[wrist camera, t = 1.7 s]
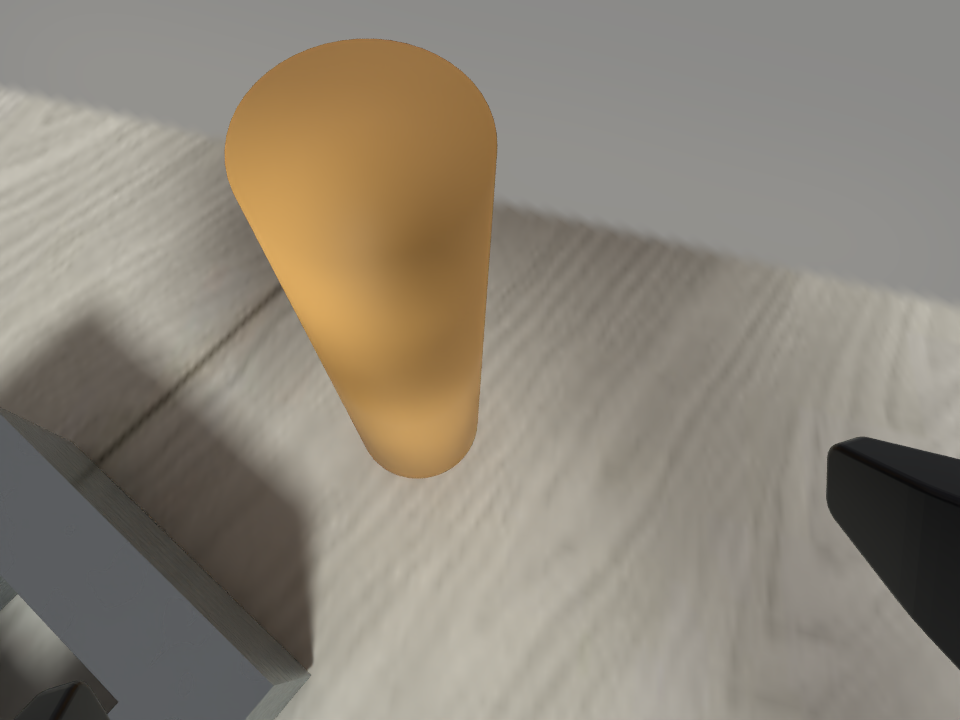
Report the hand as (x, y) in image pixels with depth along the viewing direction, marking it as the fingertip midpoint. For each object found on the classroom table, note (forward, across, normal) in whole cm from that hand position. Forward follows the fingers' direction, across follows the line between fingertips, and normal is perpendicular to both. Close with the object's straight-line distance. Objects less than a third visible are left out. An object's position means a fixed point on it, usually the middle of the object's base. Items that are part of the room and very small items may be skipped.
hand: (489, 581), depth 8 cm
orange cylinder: (+13, 0, +4) cm, 13 cm away
